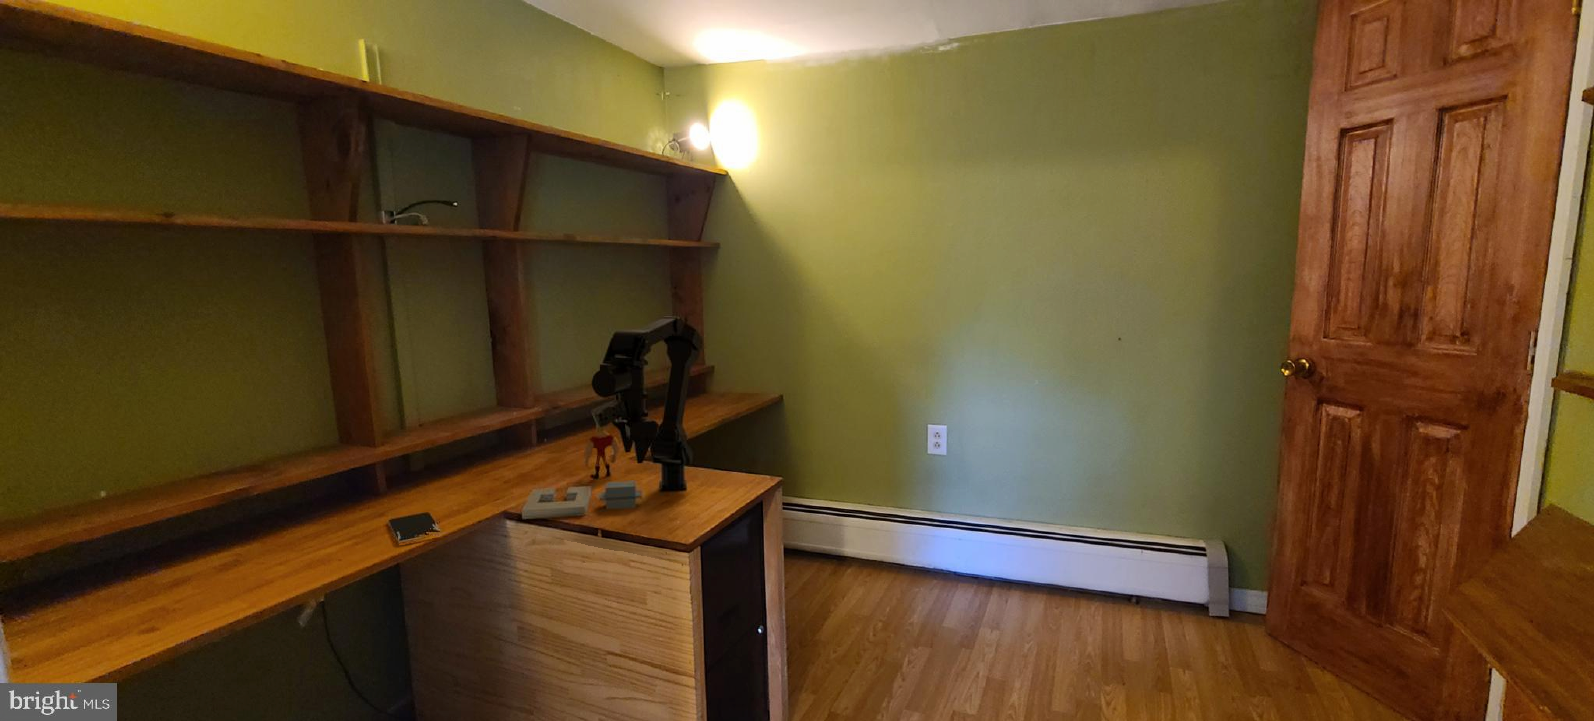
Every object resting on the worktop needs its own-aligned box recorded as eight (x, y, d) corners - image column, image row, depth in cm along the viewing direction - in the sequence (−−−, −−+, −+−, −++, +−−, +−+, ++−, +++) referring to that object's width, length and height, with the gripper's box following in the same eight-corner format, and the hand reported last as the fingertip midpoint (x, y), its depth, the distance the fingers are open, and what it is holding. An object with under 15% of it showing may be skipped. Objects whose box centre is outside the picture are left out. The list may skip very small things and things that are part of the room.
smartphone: (428, 511, 147) (442, 532, 135) (428, 517, 147) (442, 539, 135) (388, 519, 142) (398, 542, 130) (388, 525, 142) (399, 548, 130)
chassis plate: (533, 497, 158) (533, 489, 158) (590, 494, 161) (590, 486, 161) (522, 519, 145) (521, 510, 144) (585, 515, 147) (584, 506, 147)
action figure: (615, 470, 179) (614, 416, 177) (621, 474, 176) (620, 418, 174) (581, 477, 173) (579, 420, 171) (586, 481, 170) (584, 423, 168)
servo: (602, 498, 158) (601, 477, 158) (642, 495, 160) (641, 475, 160) (599, 509, 151) (599, 488, 150) (641, 507, 153) (641, 486, 152)
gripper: (583, 384, 150) (586, 452, 153) (605, 400, 134) (608, 475, 137) (632, 380, 156) (634, 445, 158) (658, 394, 140) (660, 467, 142)
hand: (633, 457), depth 149 cm, fingers open, 9 cm apart
